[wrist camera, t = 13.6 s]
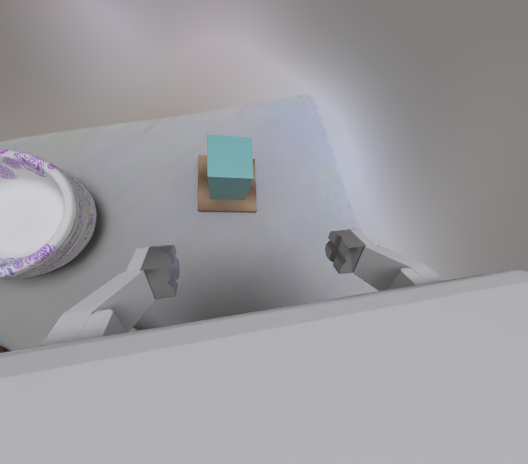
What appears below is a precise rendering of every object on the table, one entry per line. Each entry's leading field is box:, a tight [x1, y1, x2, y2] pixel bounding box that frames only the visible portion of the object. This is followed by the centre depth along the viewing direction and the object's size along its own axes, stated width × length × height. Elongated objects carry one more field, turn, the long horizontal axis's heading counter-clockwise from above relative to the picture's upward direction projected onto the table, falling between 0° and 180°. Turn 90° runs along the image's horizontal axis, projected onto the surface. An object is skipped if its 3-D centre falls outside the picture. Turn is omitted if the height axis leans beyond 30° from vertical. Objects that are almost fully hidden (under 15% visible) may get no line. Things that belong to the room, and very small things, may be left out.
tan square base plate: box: [198, 155, 257, 212], centre depth 33 cm, size 10×10×8 cm
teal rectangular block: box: [207, 134, 253, 200], centre depth 31 cm, size 6×6×9 cm
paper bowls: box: [0, 150, 97, 280], centre depth 26 cm, size 15×15×8 cm
